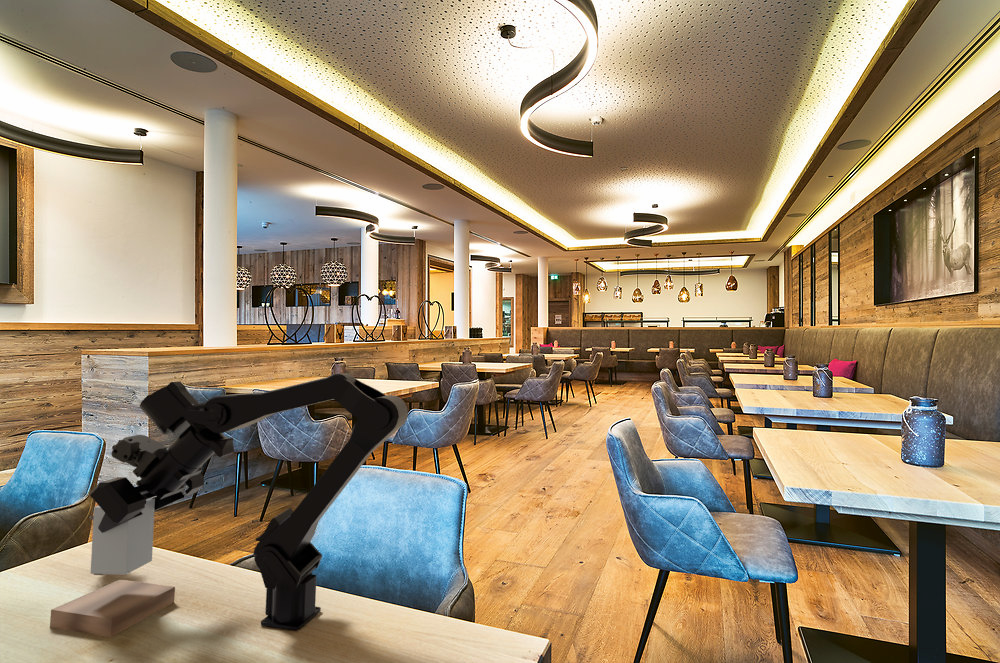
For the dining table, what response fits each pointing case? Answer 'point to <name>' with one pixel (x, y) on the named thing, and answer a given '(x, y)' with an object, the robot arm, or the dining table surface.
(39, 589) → the dining table surface
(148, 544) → the grey rectangular block
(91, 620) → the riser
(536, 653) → the dining table surface
